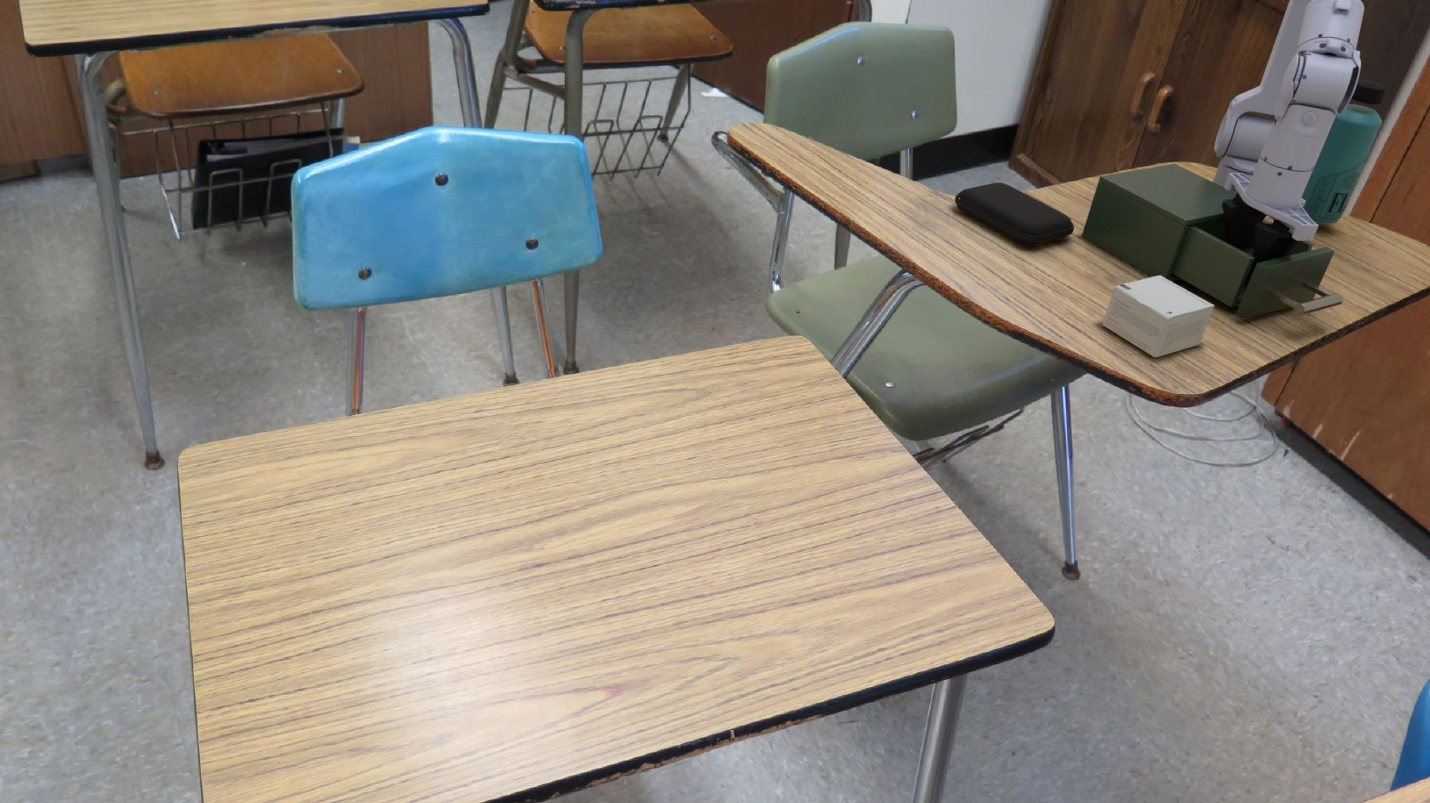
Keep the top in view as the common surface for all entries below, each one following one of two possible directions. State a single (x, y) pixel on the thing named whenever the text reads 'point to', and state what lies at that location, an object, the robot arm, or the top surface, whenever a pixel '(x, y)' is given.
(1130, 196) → the cabinet
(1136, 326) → the small box
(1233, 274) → the drawer
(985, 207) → the carrying case
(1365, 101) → the beverage bottle
